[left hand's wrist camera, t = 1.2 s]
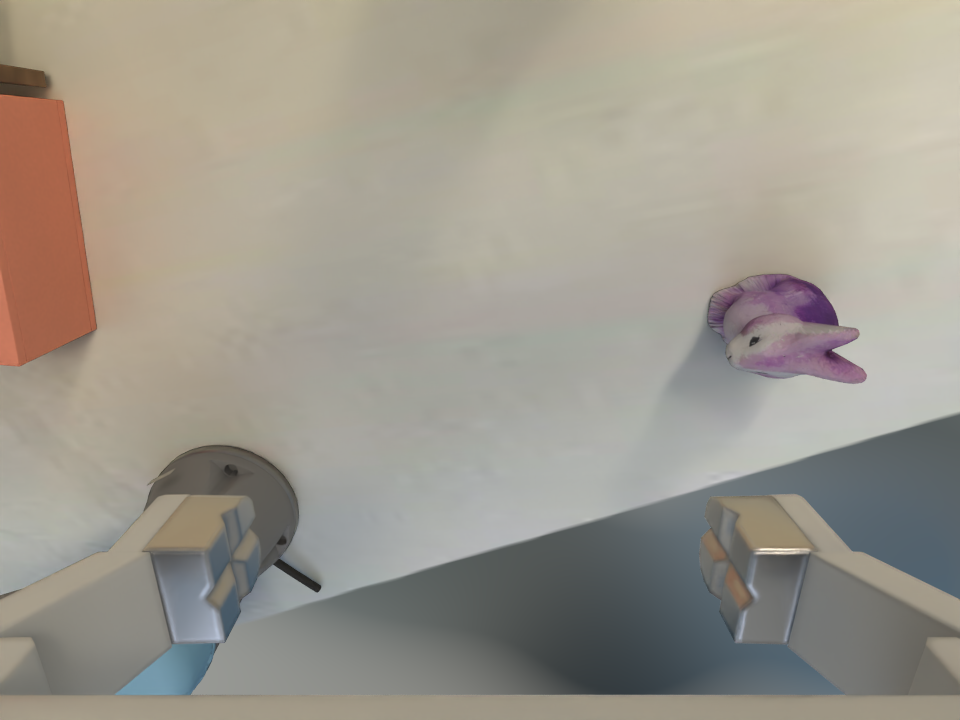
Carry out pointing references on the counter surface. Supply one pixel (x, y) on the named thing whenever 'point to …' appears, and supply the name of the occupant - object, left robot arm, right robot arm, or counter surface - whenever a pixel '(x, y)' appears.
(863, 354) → the counter surface
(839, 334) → the figurine
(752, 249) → the counter surface
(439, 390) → the counter surface
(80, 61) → the counter surface
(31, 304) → the cabinet
